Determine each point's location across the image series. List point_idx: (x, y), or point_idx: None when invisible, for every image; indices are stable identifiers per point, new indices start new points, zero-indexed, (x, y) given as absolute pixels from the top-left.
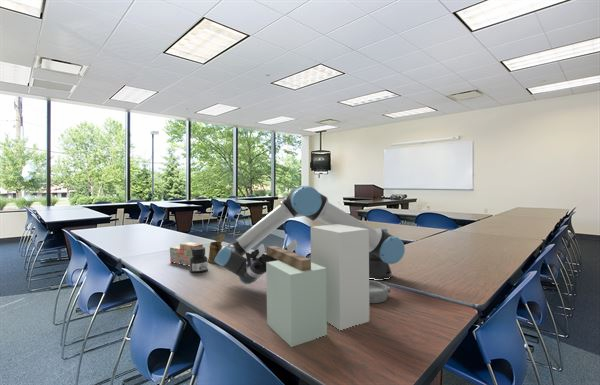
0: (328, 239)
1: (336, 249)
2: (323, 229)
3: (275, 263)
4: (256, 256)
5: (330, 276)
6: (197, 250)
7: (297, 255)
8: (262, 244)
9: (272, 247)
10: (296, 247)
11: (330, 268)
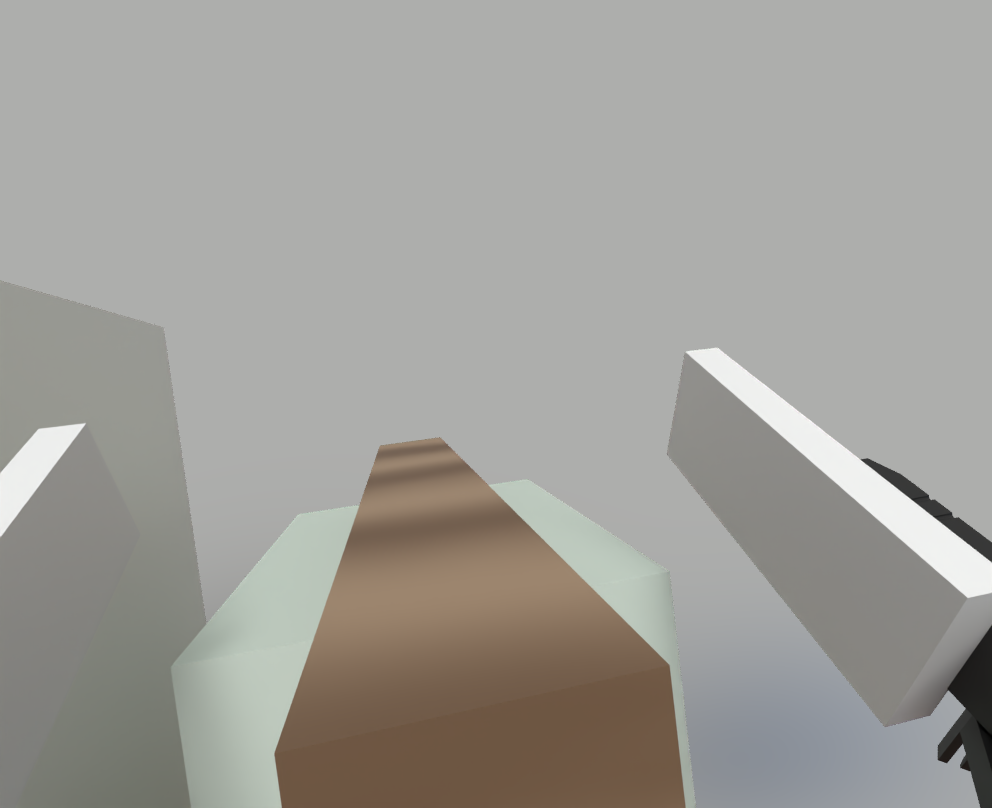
0: (115, 384)
1: (166, 439)
2: (61, 299)
3: (567, 552)
4: (934, 679)
5: (168, 665)
6: None
7: (398, 456)
8: (702, 359)
9: (498, 573)
10: (125, 543)
11: (157, 605)
